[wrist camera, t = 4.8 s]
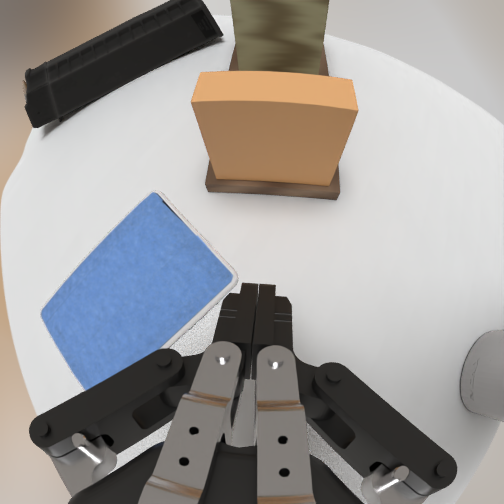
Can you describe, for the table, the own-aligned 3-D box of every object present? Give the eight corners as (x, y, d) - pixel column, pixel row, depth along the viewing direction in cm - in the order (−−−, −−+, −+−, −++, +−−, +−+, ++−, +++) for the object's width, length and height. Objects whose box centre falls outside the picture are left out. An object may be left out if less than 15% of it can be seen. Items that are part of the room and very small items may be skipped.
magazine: (225, -15, 25) (7, 36, 15) (234, -10, 24) (2, 44, 14) (209, 72, 41) (36, 124, 30) (216, 81, 40) (36, 137, 29)
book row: (321, 45, 32) (330, -30, 19) (336, 199, 25) (384, 98, 12) (238, 41, 33) (230, -34, 20) (208, 191, 26) (164, 87, 13)
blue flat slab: (159, 190, 27) (155, 184, 26) (244, 279, 24) (243, 277, 23) (43, 313, 25) (36, 312, 23) (104, 408, 22) (97, 411, 21)
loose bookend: (327, 158, 25) (351, 80, 15) (329, 186, 24) (358, 110, 14) (221, 152, 25) (200, 72, 16) (216, 179, 25) (190, 101, 15)
